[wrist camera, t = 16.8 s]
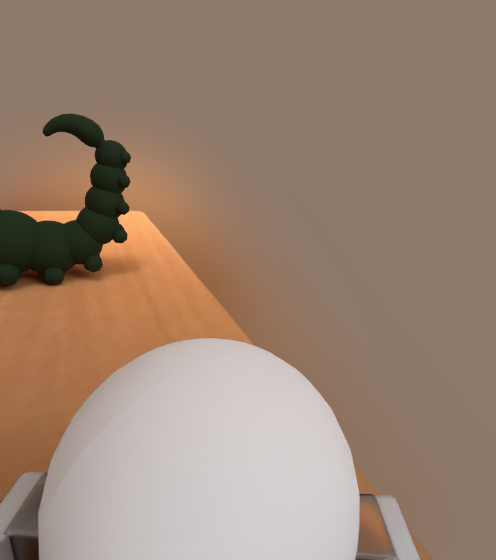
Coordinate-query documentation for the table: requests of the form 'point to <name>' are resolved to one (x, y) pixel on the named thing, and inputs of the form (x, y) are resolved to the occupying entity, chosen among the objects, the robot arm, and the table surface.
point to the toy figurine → (78, 233)
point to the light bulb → (202, 464)
